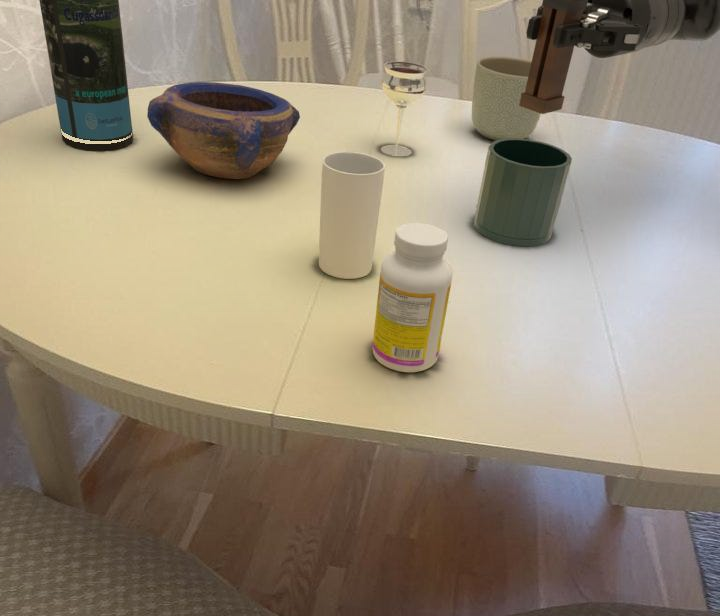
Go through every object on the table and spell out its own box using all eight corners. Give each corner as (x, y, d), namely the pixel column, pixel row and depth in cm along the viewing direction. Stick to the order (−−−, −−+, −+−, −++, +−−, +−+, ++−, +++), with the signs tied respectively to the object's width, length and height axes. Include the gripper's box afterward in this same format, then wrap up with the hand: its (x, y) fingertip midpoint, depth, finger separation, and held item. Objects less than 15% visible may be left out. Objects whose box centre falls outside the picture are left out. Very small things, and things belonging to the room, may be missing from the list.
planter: (520, 154, 124) (536, 82, 117) (453, 135, 128) (464, 64, 121) (546, 136, 132) (563, 68, 125) (483, 119, 137) (495, 52, 129)
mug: (360, 286, 85) (370, 179, 77) (306, 271, 87) (311, 164, 79) (392, 252, 92) (404, 152, 84) (342, 239, 94) (349, 139, 86)
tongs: (537, 101, 93) (571, -45, 83) (561, 109, 92) (599, -38, 82) (518, 105, 91) (550, -44, 81) (542, 114, 90) (578, -37, 79)
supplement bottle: (406, 332, 79) (424, 212, 70) (450, 362, 75) (475, 239, 67) (357, 350, 75) (369, 226, 67) (401, 383, 72) (420, 256, 63)
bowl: (313, 164, 112) (317, 91, 106) (251, 203, 100) (250, 123, 93) (210, 137, 117) (208, 66, 110) (138, 171, 104) (130, 93, 98)
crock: (542, 216, 105) (561, 142, 99) (558, 249, 98) (580, 171, 91) (468, 210, 105) (483, 135, 98) (479, 243, 97) (496, 164, 90)
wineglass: (366, 147, 120) (373, 63, 112) (396, 140, 124) (406, 59, 116) (395, 161, 116) (405, 76, 108) (426, 154, 120) (438, 71, 112)
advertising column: (93, 121, 117) (60, -124, 97) (153, 138, 114) (131, -112, 94) (41, 140, 110) (-8, -123, 90) (103, 158, 106) (67, -109, 86)
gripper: (585, -27, 95) (501, -21, 85) (686, -3, 88) (607, 7, 78) (568, 40, 100) (487, 54, 90) (663, 68, 93) (586, 86, 83)
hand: (544, 32), depth 84 cm, fingers closed on tongs, 3 cm apart
